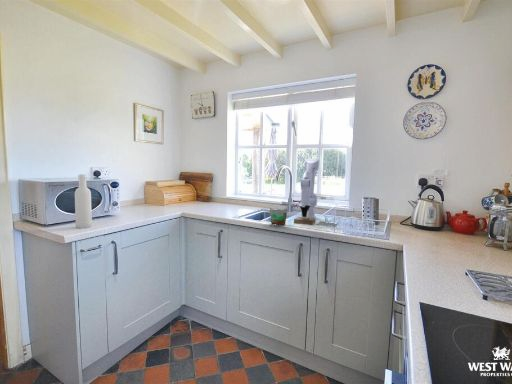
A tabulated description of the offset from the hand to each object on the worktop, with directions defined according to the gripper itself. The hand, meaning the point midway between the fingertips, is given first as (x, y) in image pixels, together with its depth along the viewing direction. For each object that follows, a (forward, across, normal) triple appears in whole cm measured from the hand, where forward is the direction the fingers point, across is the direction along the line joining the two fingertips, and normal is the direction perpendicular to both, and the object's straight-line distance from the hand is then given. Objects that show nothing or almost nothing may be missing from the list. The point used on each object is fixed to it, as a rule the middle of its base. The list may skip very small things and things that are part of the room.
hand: (304, 216), depth 176 cm
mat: (+4, -2, +15) cm, 16 cm away
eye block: (+4, 0, 0) cm, 4 cm away
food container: (+4, +16, -15) cm, 22 cm away
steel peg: (+4, 0, 0) cm, 4 cm away
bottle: (+4, +73, -113) cm, 135 cm away
